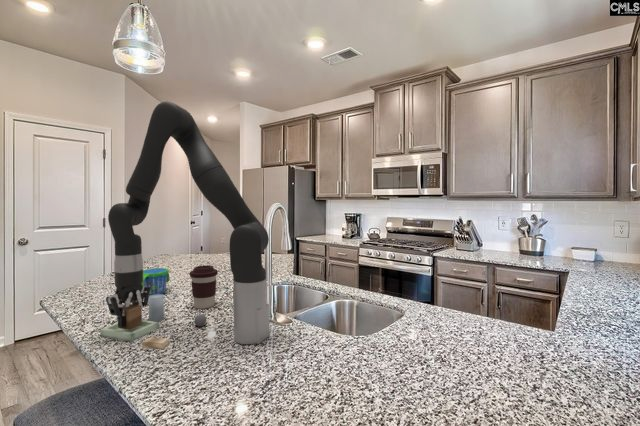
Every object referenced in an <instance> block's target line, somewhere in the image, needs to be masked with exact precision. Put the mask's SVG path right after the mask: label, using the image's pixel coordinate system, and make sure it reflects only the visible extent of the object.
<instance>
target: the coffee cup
mask: <svg viewBox="0 0 640 426" xmlns="http://www.w3.org/2000/svg"><path fill="white" fill-rule="evenodd" d="M189 276H190V278H191V291H192V292H191V293H192V298H193V306H194V308H195V309H200V310H202V309H210V308H212V307H214V306H215V302H216V301H215V300H216V298H215V297H216V294H217V293H216V292H217V276H218V269H217V268H215V267H214V266H213V265H210V264H209V265H208V264H207V265H198V266H194V268H193V270H191V271H190V272H189Z"/></svg>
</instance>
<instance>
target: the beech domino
mask: <svg viewBox="0 0 640 426" xmlns="http://www.w3.org/2000/svg"><path fill="white" fill-rule="evenodd" d="M169 345H170V338H167V337H165V338H163V337H153V336H151V337H148V338H146V339H145V340H142V341H141V348H143V349H154V350H163V349H165V348H167V347H168V346H169Z"/></svg>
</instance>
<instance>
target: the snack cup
mask: <svg viewBox="0 0 640 426" xmlns="http://www.w3.org/2000/svg"><path fill="white" fill-rule="evenodd" d="M169 273H170V272H169V269H168V268H165V267H164V268H163V267H156V268H147V269H143V283H142V286H147V287H150V288H151V289H150V294H149V296H151V295H156V294H162V295H164V293H166V289H167V283H169V282H170V280H171V279H170V274H169Z"/></svg>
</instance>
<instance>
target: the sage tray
mask: <svg viewBox="0 0 640 426" xmlns="http://www.w3.org/2000/svg"><path fill="white" fill-rule="evenodd" d="M159 322H160V321H158V322H153V321H149V320H146V319H142V325H140V326H137V327H135V328H132V329H130V330H127V329H121V328H118V322H116V323H113V324H111V325H108V326H106V327H103V328H101V329H100V331H99V332H100V334H99V335H100V337H105V338H110V339H114V340H115V339H116V340H120V341H126V342H133V341H136V340H137V339H140V338H141V337H143V336H144V337H145V336H146V335H148V334H150V332H151V333H152V331H153V332H154V330H155V331H157V330H159V329H160V323H159Z"/></svg>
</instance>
